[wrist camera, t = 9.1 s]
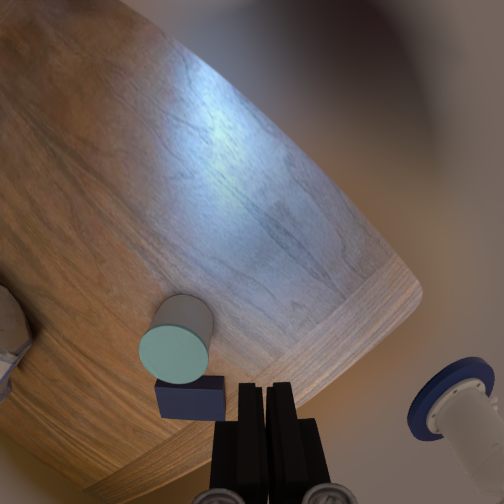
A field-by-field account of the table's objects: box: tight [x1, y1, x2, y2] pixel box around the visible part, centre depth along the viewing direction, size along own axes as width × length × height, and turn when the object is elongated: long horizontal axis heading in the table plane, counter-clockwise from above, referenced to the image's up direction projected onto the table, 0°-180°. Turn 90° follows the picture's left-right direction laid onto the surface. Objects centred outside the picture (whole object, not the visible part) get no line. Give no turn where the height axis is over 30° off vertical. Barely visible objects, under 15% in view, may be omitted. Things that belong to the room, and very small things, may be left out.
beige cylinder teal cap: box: [139, 295, 213, 384], centre depth 35 cm, size 10×7×10 cm
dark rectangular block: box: [154, 376, 226, 421], centre depth 41 cm, size 9×6×3 cm, turn 90°
